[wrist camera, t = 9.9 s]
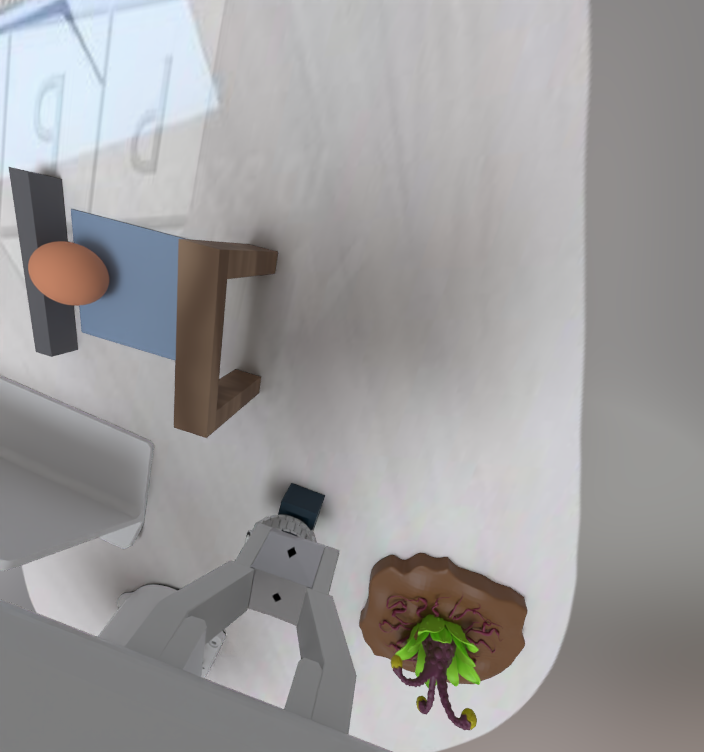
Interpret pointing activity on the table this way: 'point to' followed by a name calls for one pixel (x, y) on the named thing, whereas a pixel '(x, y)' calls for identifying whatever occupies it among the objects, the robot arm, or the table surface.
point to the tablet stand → (65, 477)
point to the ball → (68, 273)
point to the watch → (296, 513)
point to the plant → (441, 625)
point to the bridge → (210, 332)
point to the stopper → (35, 228)
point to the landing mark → (132, 284)
